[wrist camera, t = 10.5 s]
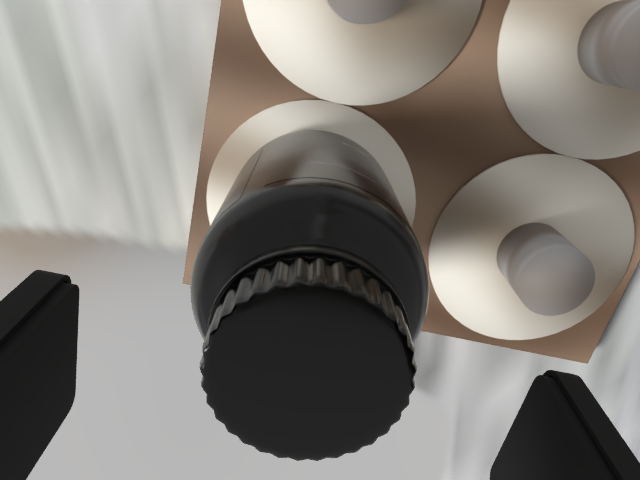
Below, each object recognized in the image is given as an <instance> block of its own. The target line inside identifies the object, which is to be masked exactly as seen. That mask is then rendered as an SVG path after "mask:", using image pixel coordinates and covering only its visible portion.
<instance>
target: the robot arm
mask: <svg viewBox="0 0 640 480" xmlns="http://www.w3.org/2000/svg"><path fill="white" fill-rule="evenodd" d="M78 312H79V287H78V286H77V285H74V284H71V279H70V277H69V276H68V275H62V274H58V273H53V272H47V271H42V270H36V271H34V272H33V273H32V274H30V275H29V276H28V277H27V278H26V279H25V280H24V281H23V282H22V283H20V284H19V285H18V286H17V287H16V288H15V289H14V290H13V291H11V292H10V293H9V294H8V295H7V296H6V297H5V298H4V299H3V300H2V301H0V480H26V478H27V477H28V475H29V474H30V472H31V471H32V469H33V467H34V466H35V464H36V463H37V461H38V460H39V458H40V457H41V455H42V454H43V452H44V450H45V449H46V447H47V446H48V444H49V442H50V441H51V439H52V438H53V436H54V435H55V433H56V432H57V430H58V429H59V427H60V425H61V424H62V422H63V421H64V419H65V418H66V416H67V414H68V413H69V411H70V409H71V407H72V404H73V401H74V397H75V389H76V364H77V362H76V361H77V338H78ZM490 480H640V463H639V462H638V460H637V459H636V457H635V456H634V454H633V453H632V451H631V450H630V448H629V447H628V446H627V444H626V443H625V441H624V440H623V438H622V437H621V435H620V434H619V432H618V431H617V430H616V428H615V427H614V425H613V424H612V422H611V421H610V419H609V418H608V417H607V415H606V414H605V412H604V411H603V409H602V408H601V406H600V405H599V403H598V402H597V401H596V399H595V398H594V396H593V395H592V393H591V392H590V390H589V389H588V387H587V386H586V385H585V383H584V382H583V380H582V379H581V378H580V377H579V376H577V375H574V374H569V373H564V372H559V371H554V370H548V371H546V372H545V373H544V374H543V375H539V376H537V377H536V378H535V379H534V381H533V383H532V385H531V387H530V389H529V391H528V393H527V395H526V398H525V400H524V402H523V404H522V406H521V408H520V410H519V412H518V414H517V416H516V418H515V420H514V422H513V424H512V426H511V428H510V430H509V433H508V435H507V437H506V439H505V441H504V443H503V445H502V447H501V449H500V451H499V453H498V455H497V457H496V459H495V461H494V463H493V465H492V468H491V472H490Z"/></svg>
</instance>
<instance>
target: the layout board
mask: <svg viewBox="0 0 640 480" xmlns="http://www.w3.org/2000/svg"><path fill="white" fill-rule="evenodd" d="M303 130H322V131H328V132H332V133H336V134H339V135H342V136H344V137H347V138H349V139H351V140H353V141H354V142H356V143H357V144H359V145H360V146H362V147H363V148H364V149H366V150H367V151H368V152H369V153H370V154H371V155H372V156H373V157H374V158H375V160H376V161H377V162H378V163H379V165H380V166H381V168H382V169H383V171H384V173H385V174H386V176H387V178H388V180H389V182H390V184H391V186H392V188H393V190H394V192H395V194H396V196H397V199H398V201H399V203H400V205H401V207H402V209H403V211H404V213H405V215H406V217H407V219H408V221H409V224H410V226H411V228H412V230H413V232H414V234H415V236H416V238H417V240H418V243H419V245H420V248H421V250H422V253H423V256H424V259H425V263H426V266H427V271H428V276H429V289H430V290H429V304H428V310H427V314H426V318H425V321H424V324H423V327H422V329H421V331H426V332H431V333H436V334H441V335H446V336H451V337H456V338H461V339H466V340H471V341H476V342H481V343H486V344H491V345H496V346H501V347H506V348H511V349H516V350H521V351H527V352H532V353H537V354H542V355H547V356H552V357H557V358H562V359H567V360H572V361H577V362H582V363H587V364H588V362H589V360H590V358H591V356H592V354H593V352H594V350H595V348H596V346H597V344H598V342H599V340H600V338H601V336H602V334H603V332H604V330H605V328H606V326H607V324H608V322H609V320H610V318H611V316H612V314H613V312H614V310H615V308H616V306H617V304H618V302H619V300H620V298H621V296H622V294H623V292H624V290H625V288H626V286H627V284H628V282H629V280H630V278H631V276H632V274H633V272H634V270H635V268H636V266H637V264H638V263H639V261H640V0H221V7H220V15H219V22H218V29H217V37H216V44H215V51H214V59H213V66H212V73H211V81H210V88H209V95H208V102H207V110H206V117H205V124H204V132H203V139H202V146H201V154H200V161H199V168H198V176H197V183H196V190H195V198H194V205H193V212H192V220H191V227H190V234H189V242H188V249H187V256H186V264H185V271H184V278H183V283H184V284H189V285H191V276H192V271H193V265H194V262H195V259H196V256H197V253H198V250H199V248H200V245H201V243H202V241H203V239H204V237H205V235H206V233H207V231H208V229H209V227H210V226H211V224H212V222H213V220H214V218H215V216H216V214H217V213H218V211H219V209H220V207H221V205H222V203H223V202H224V200H225V198H226V196H227V194H228V192H229V191H230V189H231V187H232V185H233V183H234V181H235V179H236V178H237V176H238V174H239V173H240V171H241V169H242V168H243V166H244V165H245V164H246V162H247V161H248V160H249V159H250V157H251V156H252V155H253V154H254V153H255V152H256V151H258V150H259V149H260V148H261V147H262V146H264V145H265V144H266V143H268V142H270V141H271V140H273V139H275V138H277V137H280V136H282V135H285V134H288V133H292V132H296V131H303Z"/></svg>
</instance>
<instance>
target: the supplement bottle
mask: <svg viewBox="0 0 640 480" xmlns="http://www.w3.org/2000/svg"><path fill="white" fill-rule="evenodd" d="M429 290H430V289H429V276H428V271H427V266H426V263H425V259H424V256H423V253H422V250H421V248H420V245H419V243H418V240H417V238H416V236H415V234H414V232H413V230H412V228H411V226H410V224H409V221H408V219H407V217H406V215H405V213H404V211H403V209H402V207H401V205H400V203H399V201H398V199H397V196H396V194H395V192H394V190H393V188H392V186H391V184H390V182H389V180H388V178H387V176H386V174H385V173H384V171H383V169H382V168H381V166H380V165H379V163H378V162H377V161H376V160H375V158H374V157H373V156H372V155H371V154H370V153H369V152H368V151H367V150H366V149H364V148H363V147H362V146H360V145H359V144H357V143H356V142H354V141H353V140H351V139H349V138H347V137H344V136H342V135H339V134H336V133H332V132H328V131H322V130H303V131H296V132H292V133H288V134H285V135H282V136H280V137H277V138H275V139H273V140H271V141H270V142H268V143H266V144H265V145H264V146H262V147H261V148H260V149H259V150H258V151H256V152H255V153H254V154H253V155H252V156H251V157H250V159H249V160H248V161H247V162H246V164H245V165H244V166H243V168H242V169H241V171H240V173H239V174H238V176H237V178H236V179H235V181H234V183H233V185H232V187H231V189H230V191H229V192H228V194H227V196H226V198H225V200H224V202H223V203H222V205H221V207H220V209H219V211H218V213H217V214H216V216H215V218H214V220H213V222H212V224H211V226H210V227H209V229H208V231H207V233H206V235H205V237H204V239H203V241H202V243H201V245H200V248H199V250H198V253H197V256H196V259H195V262H194V265H193V271H192V276H191V302H192V309H193V313H194V317H195V320H196V323H197V326H198V329H199V331H200V333H201V335H202V337H203V339H204V343H203V356H202V359H201V362H200V370H201V373H202V375H203V377H202V382H201V386H202V388H203V390H204V391H205V392H206V394H207V403H208V405H209V406H210V407H211V408H212V409H213V410H214V413H215V417H216V419H218V420H219V421H220V422H222V423H224V424H225V426H226V428H227V430H228V432H230V433H232V434H234V435H236V436H238V437H239V438H240V440H241V441H242V442H243V443H245V444H248V445H252V446H254V447H255V448H256V449H257V450H259V451H260V452H265V453H271V454H273V455H274V456H277V457H278V458H287V457H289V458H292V459H295V460H297V461H299V460H305V459H310V460H316V461H318V460H322V459H324V458H338V457H340V456H342V455H343V454H345V453H354V452H356V451H358V450H359V449H360V448H361V447H363V446H367V445H371V444H373V443H374V442H375V441H376V439H377V438H378V437H380V436H382V435H384V434H386V433H388V431H389V430H390V427H391V425H393V424H394V423H396V422H397V421H398V420H399V419H400V417H401V412H402V411H403V410H404V409H405V408H406V407H407V406H408V405H409V395H410V394H411V393H412V391H413V390H414V388H415V382H414V375H415V373H416V370H417V366H416V361H415V358H414V343H415V342H416V340H417V338H418V336H419V334H420V332H421V329H422V327H423V324H424V321H425V318H426V314H427V310H428V304H429Z"/></svg>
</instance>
